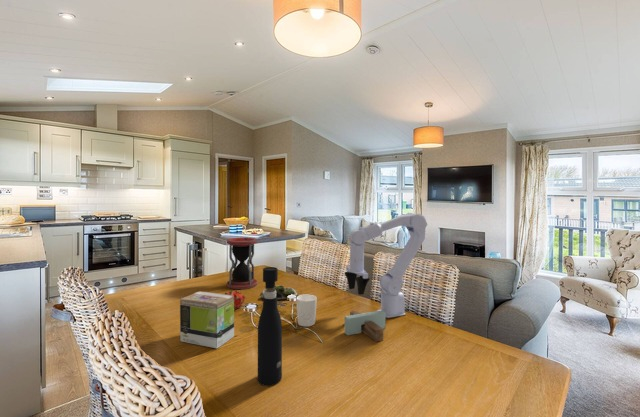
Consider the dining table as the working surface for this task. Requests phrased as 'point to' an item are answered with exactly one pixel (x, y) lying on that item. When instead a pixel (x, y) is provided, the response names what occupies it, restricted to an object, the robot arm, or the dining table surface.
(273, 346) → the black water bottle
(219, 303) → the tea box
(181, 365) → the dining table surface
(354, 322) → the pale green flat block
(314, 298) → the white cup
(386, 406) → the dining table surface
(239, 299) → the dragon fruit
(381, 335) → the walnut rail
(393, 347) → the dining table surface
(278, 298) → the salad plate
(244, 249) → the hourglass
